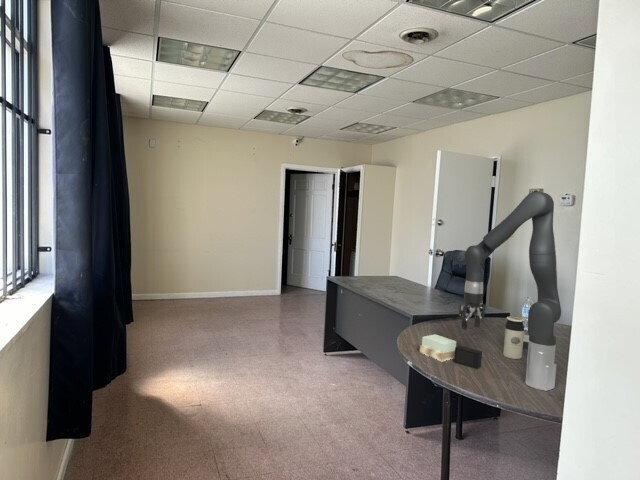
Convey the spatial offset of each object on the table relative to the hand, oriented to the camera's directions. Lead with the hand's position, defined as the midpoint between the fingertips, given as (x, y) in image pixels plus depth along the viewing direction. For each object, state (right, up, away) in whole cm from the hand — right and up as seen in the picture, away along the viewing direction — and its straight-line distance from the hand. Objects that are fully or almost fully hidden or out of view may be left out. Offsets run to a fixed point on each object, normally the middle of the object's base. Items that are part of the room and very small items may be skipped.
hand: (470, 328), depth 182 cm
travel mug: (+24, -16, +14) cm, 32 cm away
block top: (-11, -11, +11) cm, 19 cm away
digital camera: (-1, -16, +1) cm, 16 cm away
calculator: (+38, -16, +35) cm, 54 cm away
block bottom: (-11, -15, +11) cm, 22 cm away
